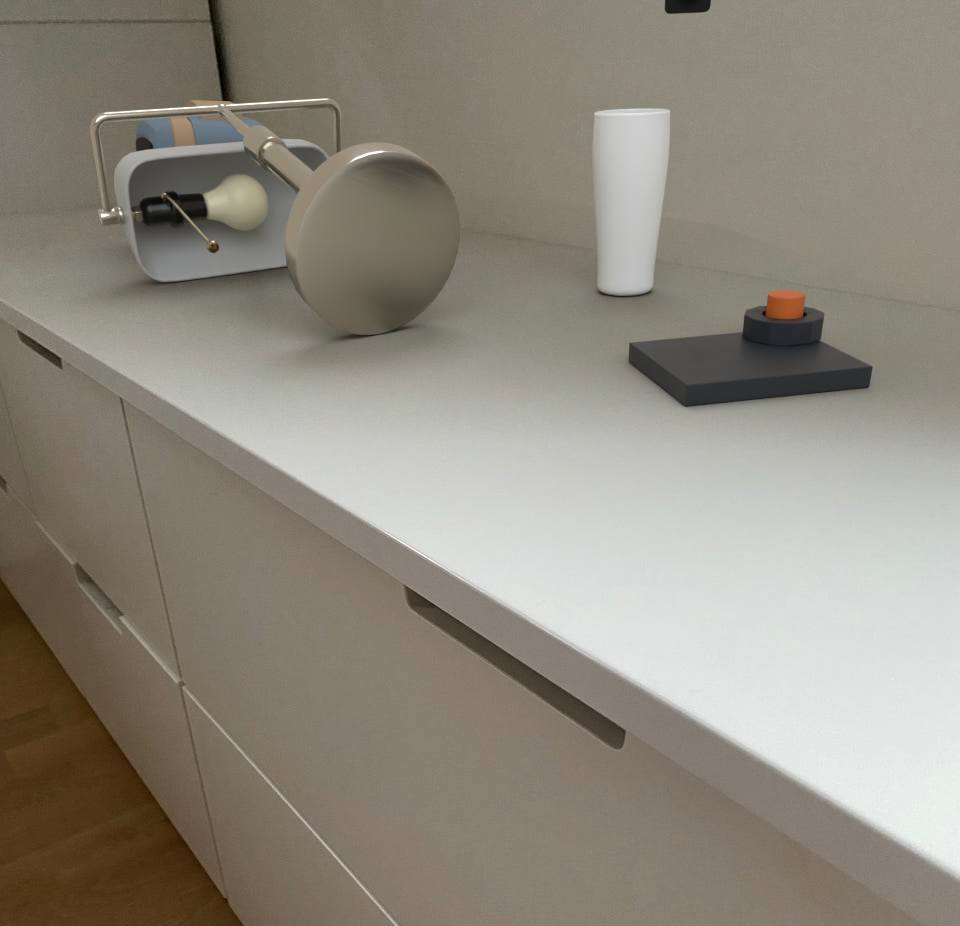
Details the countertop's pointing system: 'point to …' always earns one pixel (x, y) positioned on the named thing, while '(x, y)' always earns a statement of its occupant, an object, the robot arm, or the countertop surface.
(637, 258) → the drinking glass
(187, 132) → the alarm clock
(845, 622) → the countertop surface
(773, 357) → the scale
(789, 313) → the button
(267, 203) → the lamp
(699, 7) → the robot arm
